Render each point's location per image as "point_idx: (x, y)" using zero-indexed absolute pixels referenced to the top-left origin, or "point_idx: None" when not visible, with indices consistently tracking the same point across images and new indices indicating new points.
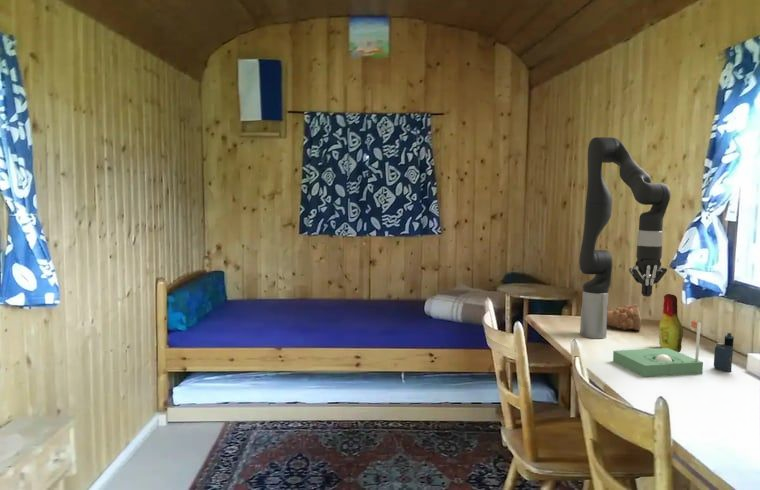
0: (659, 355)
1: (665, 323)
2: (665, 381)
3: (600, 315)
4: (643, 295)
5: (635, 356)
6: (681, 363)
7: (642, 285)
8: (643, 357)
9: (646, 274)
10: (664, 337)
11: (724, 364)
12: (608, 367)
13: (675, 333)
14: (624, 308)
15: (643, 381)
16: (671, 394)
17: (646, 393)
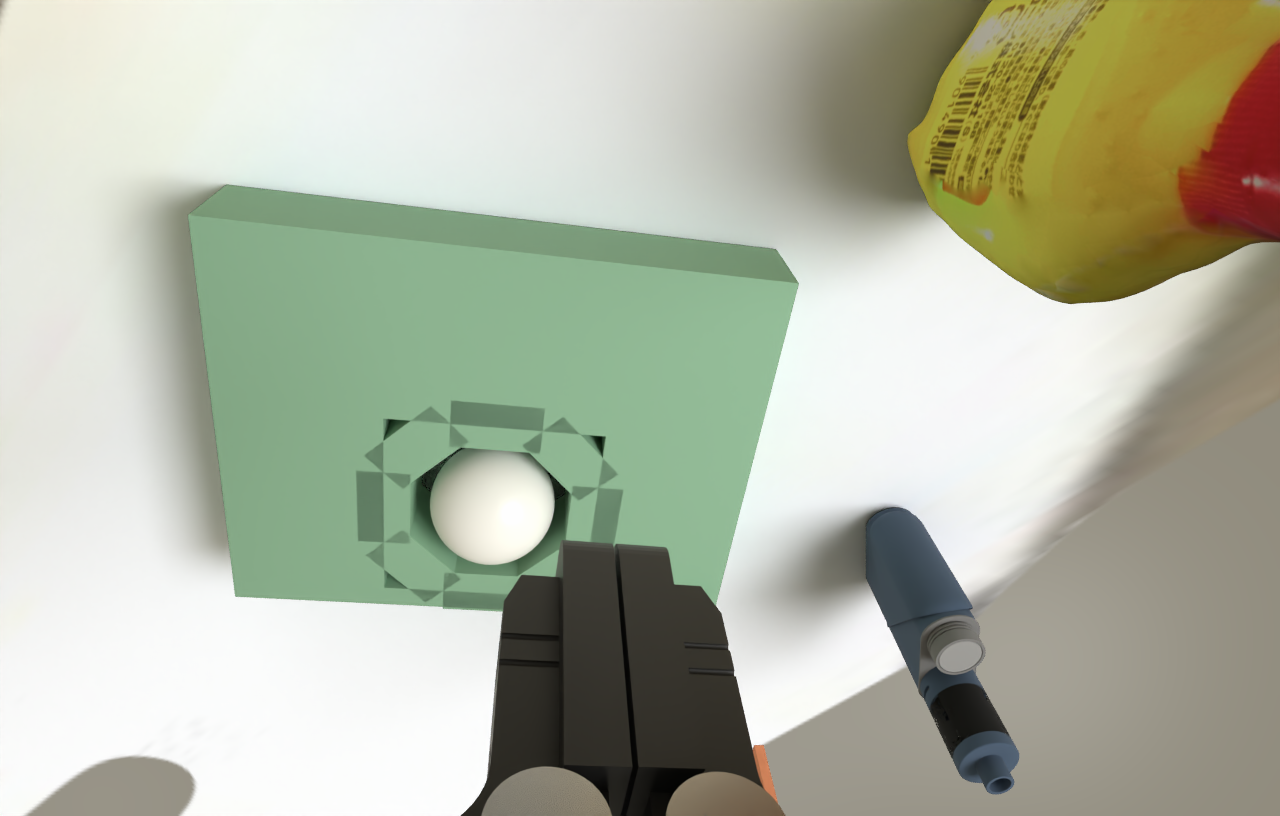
0: (458, 524)
1: (1067, 167)
2: (349, 620)
3: None
4: (560, 559)
5: (304, 414)
6: None
7: (486, 794)
8: (357, 450)
9: None
10: (970, 132)
11: (880, 599)
12: (92, 316)
13: (1007, 272)
14: None
15: (203, 596)
16: (241, 752)
17: (105, 724)
